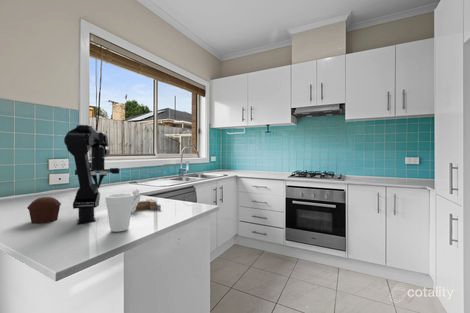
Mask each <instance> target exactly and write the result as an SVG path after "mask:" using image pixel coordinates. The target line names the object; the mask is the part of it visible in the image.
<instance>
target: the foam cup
mask: <svg viewBox="0 0 470 313" xmlns="http://www.w3.org/2000/svg"><path fill="white" fill-rule="evenodd" d="M132 202H133V194H131V193H129V192H128V193H112V194H107V195H105V203H106V210H107V216H108V223H109V228H110V232H116V233H117V232H124V231H126V230H128V229H129V227H130V222H131V215H132V212H131V209H132Z"/></svg>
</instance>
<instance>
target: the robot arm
mask: <svg viewBox="0 0 470 313" xmlns="http://www.w3.org/2000/svg"><path fill="white" fill-rule="evenodd" d="M63 139H64V140H63V143H64V145H65V146H66V149H67V151H68V153H70V154H71V156H73V158H74V164H75V170H74V175H75V176H77V179H78V186H79V188H78V189H77V191H76V194H75V196H74V200H73V202H72V209H73V210H75V209H78V219H77V222H76V224H77V225H80V224H88V223H93V222H94V223H95V222H96V217H95V208H98V207H99V206H100V198H101V192H100V191H99V188H100V187H101V183H102V181H103V179H104V178H105V177H107V176H108V175H107V174H109V173H110V174H114V175H115V174H117V175H118V174H120V168H119V167H110V168H106V169H105V158H107V157H109V155H110V154H111V151H110V149H109V148H108V147H110V144H109V138H108V135H107V134H106V132H98V131H97V129H94V128H93V126H92V125H90V124H79V125H76V127H74V128H72V129H71V130H69V131H68V132H67V133H66V134H65V136H64V138H63ZM90 150H91V152H90V153H91V154H90V158H91V159H89V151H90ZM89 160H90V161H89ZM97 174H98V176H97ZM93 181H94V183H93Z"/></svg>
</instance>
